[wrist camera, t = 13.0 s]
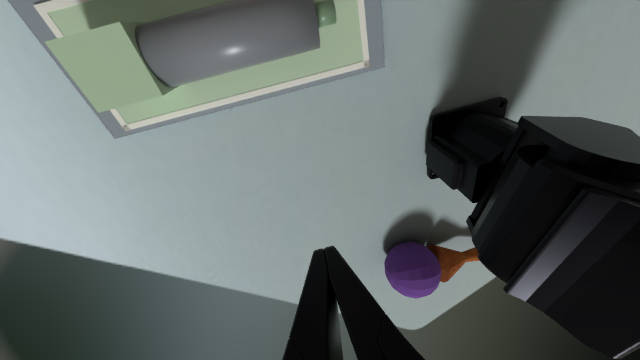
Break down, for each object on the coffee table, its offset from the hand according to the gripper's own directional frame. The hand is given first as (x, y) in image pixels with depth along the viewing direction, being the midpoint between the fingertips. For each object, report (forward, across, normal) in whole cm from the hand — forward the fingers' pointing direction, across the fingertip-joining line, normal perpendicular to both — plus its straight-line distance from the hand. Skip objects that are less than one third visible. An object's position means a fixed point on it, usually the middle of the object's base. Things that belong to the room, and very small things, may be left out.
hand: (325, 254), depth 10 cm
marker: (+11, +3, -8) cm, 14 cm away
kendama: (+12, -15, +19) cm, 27 cm away
